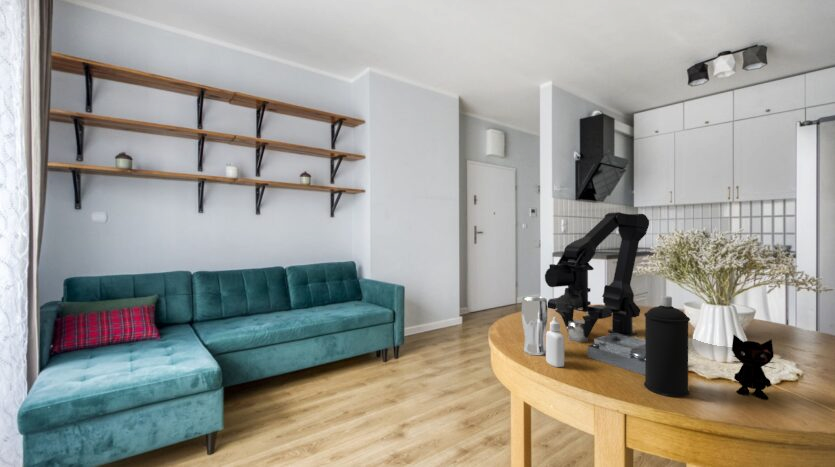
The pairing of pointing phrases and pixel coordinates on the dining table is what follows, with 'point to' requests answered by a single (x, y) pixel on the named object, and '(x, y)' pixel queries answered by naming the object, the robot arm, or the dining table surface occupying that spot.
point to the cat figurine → (752, 365)
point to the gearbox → (619, 351)
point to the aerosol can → (666, 350)
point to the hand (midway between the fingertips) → (577, 335)
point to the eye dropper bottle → (555, 345)
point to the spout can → (576, 331)
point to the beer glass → (534, 324)
